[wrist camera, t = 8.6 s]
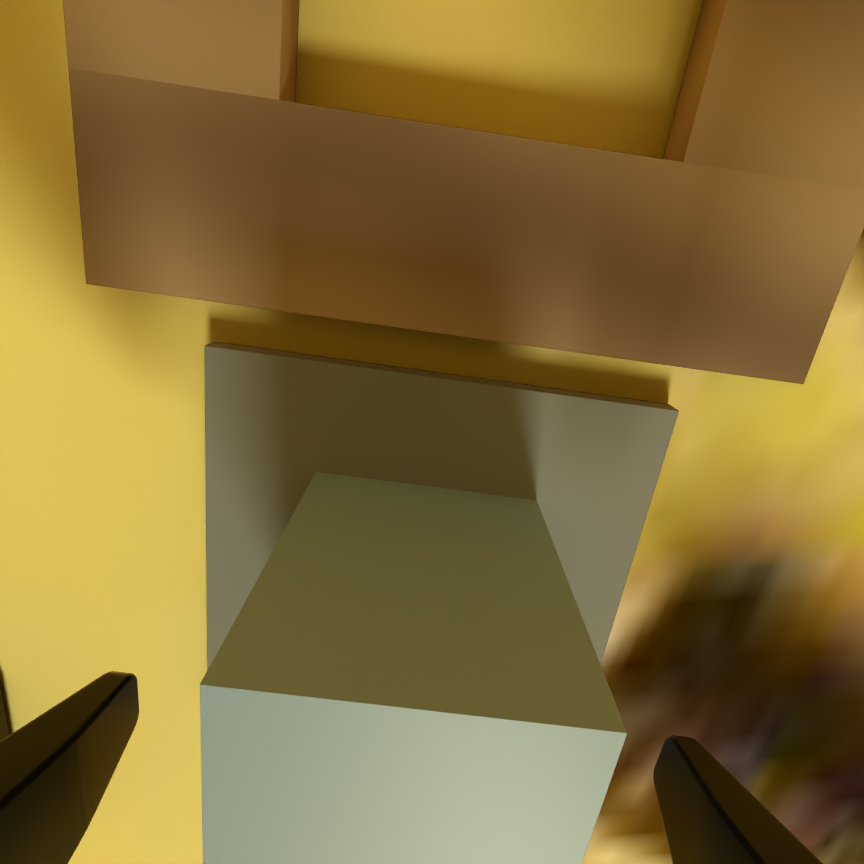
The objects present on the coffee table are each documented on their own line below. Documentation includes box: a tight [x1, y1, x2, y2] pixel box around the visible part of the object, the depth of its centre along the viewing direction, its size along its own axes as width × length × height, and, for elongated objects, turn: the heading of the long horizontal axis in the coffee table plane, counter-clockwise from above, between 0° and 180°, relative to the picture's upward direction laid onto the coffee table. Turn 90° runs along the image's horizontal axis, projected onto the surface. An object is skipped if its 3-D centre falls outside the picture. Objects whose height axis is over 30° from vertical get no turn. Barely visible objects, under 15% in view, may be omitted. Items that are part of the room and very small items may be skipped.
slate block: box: [200, 472, 627, 864], centre depth 10 cm, size 5×5×6 cm
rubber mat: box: [205, 342, 679, 669], centre depth 13 cm, size 10×10×1 cm
